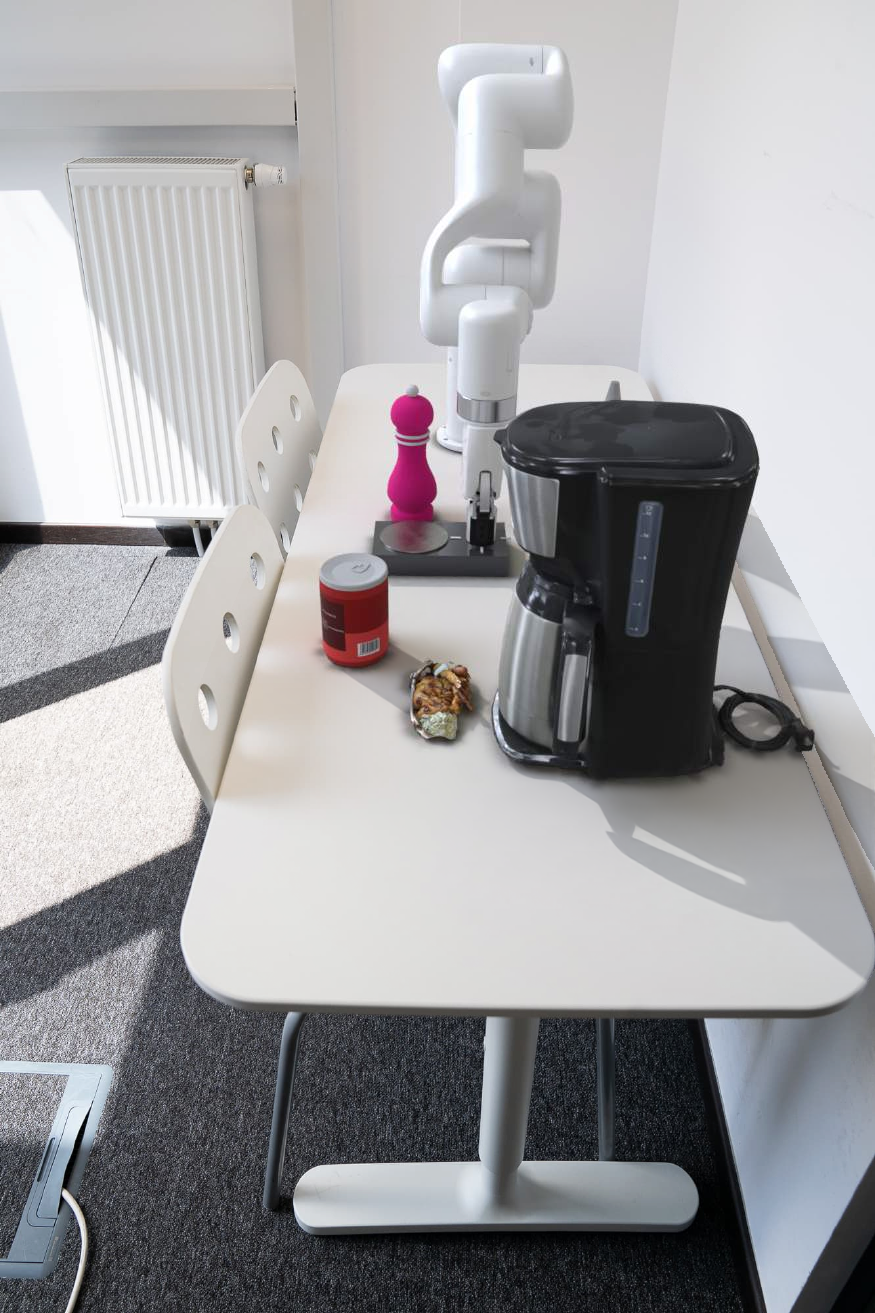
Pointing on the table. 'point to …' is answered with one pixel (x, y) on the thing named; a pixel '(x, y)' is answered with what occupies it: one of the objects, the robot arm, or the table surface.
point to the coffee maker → (625, 588)
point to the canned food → (354, 609)
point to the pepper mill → (412, 459)
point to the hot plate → (448, 554)
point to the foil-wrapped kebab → (438, 698)
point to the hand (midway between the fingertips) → (480, 534)
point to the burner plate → (414, 537)
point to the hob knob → (469, 513)
